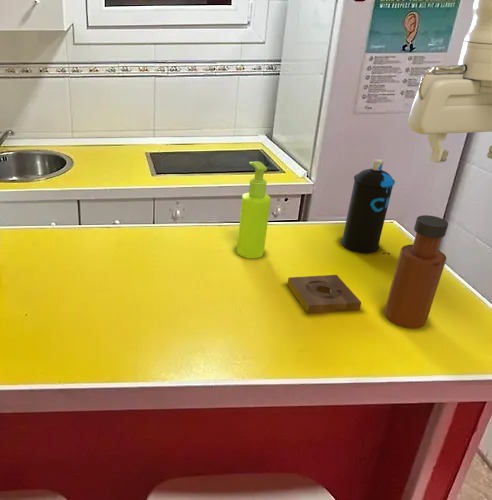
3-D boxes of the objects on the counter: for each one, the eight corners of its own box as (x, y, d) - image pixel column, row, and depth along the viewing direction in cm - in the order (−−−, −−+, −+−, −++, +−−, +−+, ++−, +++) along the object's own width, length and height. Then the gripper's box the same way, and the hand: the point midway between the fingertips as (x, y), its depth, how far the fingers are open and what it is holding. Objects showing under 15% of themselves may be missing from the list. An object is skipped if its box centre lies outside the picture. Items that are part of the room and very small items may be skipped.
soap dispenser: (256, 243, 119) (266, 158, 110) (267, 257, 113) (279, 169, 104) (231, 244, 118) (239, 160, 109) (241, 259, 112) (251, 170, 103)
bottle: (411, 305, 96) (436, 222, 89) (434, 327, 91) (462, 240, 83) (377, 307, 96) (398, 224, 88) (397, 330, 90) (422, 242, 82)
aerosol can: (333, 244, 119) (350, 159, 109) (351, 233, 124) (368, 152, 114) (368, 257, 113) (389, 169, 104) (385, 245, 118) (406, 160, 109)
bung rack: (335, 282, 104) (336, 274, 103) (359, 310, 95) (361, 302, 94) (287, 285, 103) (288, 277, 102) (307, 314, 94) (309, 305, 93)
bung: (430, 236, 88) (436, 214, 87) (447, 248, 84) (454, 226, 83) (405, 237, 88) (411, 215, 86) (421, 249, 84) (427, 227, 82)
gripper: (438, 69, 69) (414, 169, 75) (578, 65, 71) (543, 163, 77) (411, 63, 74) (390, 156, 81) (541, 59, 76) (511, 151, 83)
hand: (466, 160), depth 79 cm, fingers open, 8 cm apart
